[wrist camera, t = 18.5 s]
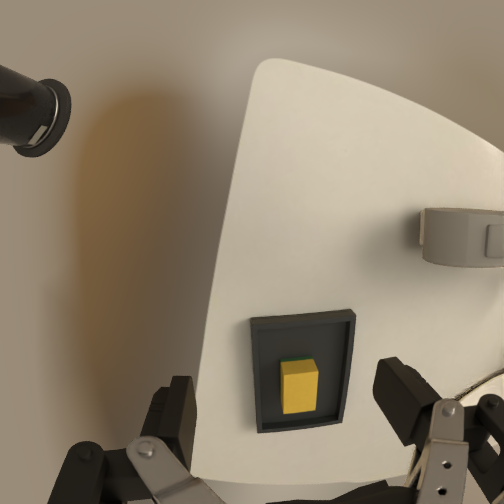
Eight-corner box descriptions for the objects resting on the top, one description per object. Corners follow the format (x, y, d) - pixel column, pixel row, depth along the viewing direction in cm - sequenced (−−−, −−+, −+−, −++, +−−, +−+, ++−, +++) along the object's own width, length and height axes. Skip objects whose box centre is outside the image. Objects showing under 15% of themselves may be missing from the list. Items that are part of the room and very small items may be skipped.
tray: (338, 414, 42) (342, 422, 40) (256, 424, 42) (257, 433, 40) (350, 308, 38) (356, 315, 36) (250, 317, 38) (250, 324, 36)
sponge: (309, 393, 40) (315, 410, 36) (280, 397, 40) (283, 414, 36) (311, 355, 39) (318, 371, 35) (279, 358, 39) (283, 375, 35)
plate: (432, 406, 44) (439, 414, 41) (511, 358, 44) (518, 363, 41) (419, 468, 49) (423, 475, 46) (490, 426, 48) (495, 431, 46)
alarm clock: (400, 251, 37) (457, 276, 25) (401, 206, 36) (462, 215, 23) (500, 245, 38) (552, 261, 25) (502, 210, 37) (556, 220, 24)
